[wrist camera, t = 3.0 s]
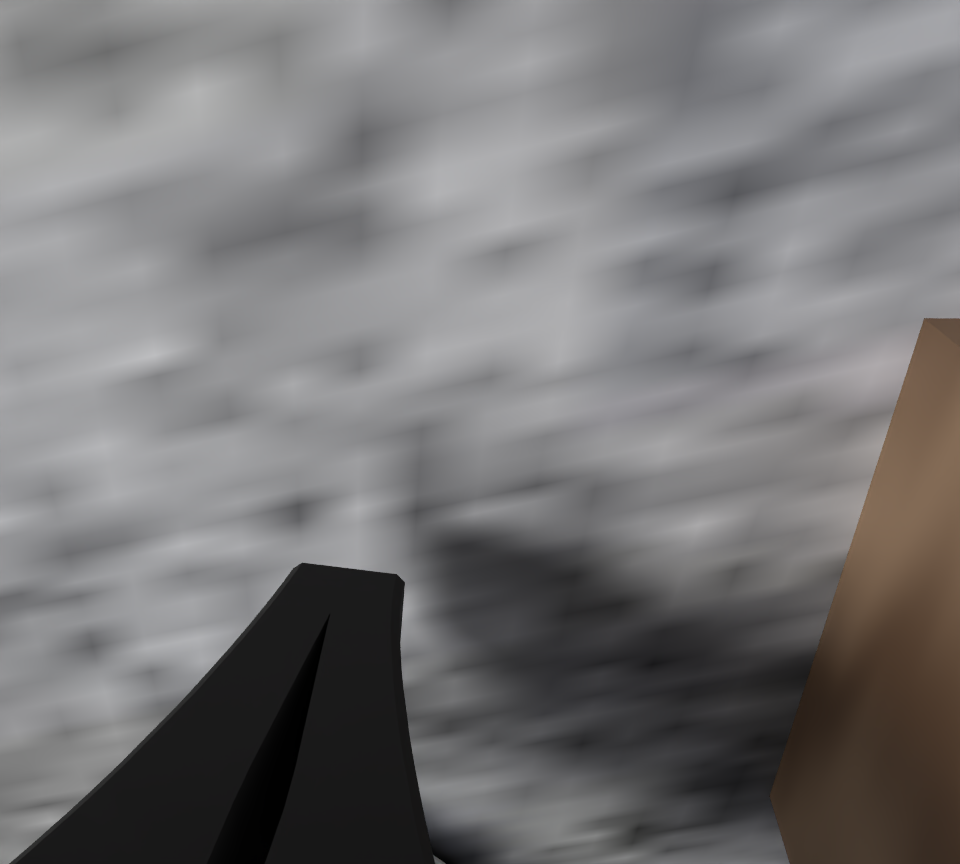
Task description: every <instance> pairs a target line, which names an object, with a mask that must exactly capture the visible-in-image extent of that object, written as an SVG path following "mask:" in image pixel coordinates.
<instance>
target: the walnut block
mask: <svg viewBox="0 0 960 864" xmlns="http://www.w3.org/2000/svg"><path fill="white" fill-rule="evenodd" d="M770 799H771V803H772V806H773V809H774V813H775V816H776V819H777V822H778V826H779V829H780V832H781V836H782V839H783V842H784V846H785V849H786V852H787V855H788V859H789V862H790V864H960V319H933V318H924V321H923V324H922V327H921V330H920V333H919V336H918V339H917V343H916V346H915V349H914V352H913V355H912V358H911V361H910V364H909V367H908V370H907V373H906V377H905V380H904V383H903V386H902V389H901V392H900V395H899V398H898V401H897V404H896V407H895V410H894V414H893V417H892V420H891V423H890V426H889V429H888V432H887V435H886V438H885V441H884V444H883V447H882V451H881V454H880V457H879V460H878V463H877V466H876V469H875V472H874V475H873V478H872V481H871V484H870V488H869V491H868V494H867V497H866V500H865V503H864V506H863V509H862V512H861V515H860V518H859V522H858V525H857V528H856V531H855V534H854V537H853V540H852V543H851V546H850V549H849V552H848V555H847V559H846V562H845V565H844V568H843V571H842V574H841V577H840V580H839V583H838V586H837V589H836V592H835V596H834V599H833V602H832V605H831V608H830V611H829V614H828V617H827V620H826V623H825V626H824V629H823V633H822V636H821V639H820V642H819V645H818V648H817V651H816V654H815V657H814V660H813V663H812V666H811V670H810V673H809V676H808V679H807V682H806V685H805V688H804V691H803V694H802V697H801V700H800V704H799V707H798V710H797V713H796V716H795V719H794V722H793V725H792V728H791V731H790V734H789V737H788V741H787V744H786V747H785V750H784V753H783V756H782V759H781V762H780V765H779V768H778V771H777V774H776V778H775V781H774V784H773V787H772V790H771V793H770Z"/></svg>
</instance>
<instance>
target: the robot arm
mask: <svg viewBox="0 0 960 864" xmlns="http://www.w3.org/2000/svg"><path fill="white" fill-rule="evenodd" d="M404 586H405V582H404V581H403V580H402V579H401V578H400V577H399V576H398V575H397V574H390V573H381V572H373V571H365V570H357V569H349V568H341V567H332V566H324V565H316V564H308V563H301V564H299V565H298V566H296V567H295V568H293V570H292V571H291V572H290V574H289V575H288V576H287V578H286V579H285V581H284V582H283V583H282V585H281V586H280V587H279V588H278V590H277V591H276V592H275V594H274V595H273V596H272V597H271V599H270V600H269V601H268V603H267V604H266V605H265V606H264V608H263V609H262V610H261V611H260V612H259V614H258V615H257V616H256V617H255V619H254V620H253V621H252V622H251V623H250V625H249V626H248V627H247V628H246V629H245V631H244V632H243V633H242V634H241V635H240V636H239V638H238V639H237V640H236V641H235V642H234V644H233V645H232V646H231V647H230V648H229V649H228V650H227V652H226V653H225V654H224V655H223V656H222V657H221V658H220V659H219V660H218V662H217V663H216V664H215V665H214V666H213V667H212V668H211V669H210V670H209V672H208V673H207V674H206V675H205V676H204V677H203V678H202V679H201V680H200V682H199V683H198V684H197V685H196V686H195V687H194V688H193V689H192V690H191V692H190V693H189V694H188V695H187V696H186V697H185V698H184V699H183V700H182V701H181V702H180V703H179V704H178V705H177V706H176V708H175V709H174V710H173V711H172V712H171V713H170V714H169V715H168V716H167V717H166V718H165V719H164V720H163V721H162V722H161V723H160V724H159V725H158V726H157V727H156V728H155V729H154V730H153V731H152V732H151V733H150V734H149V735H148V736H147V737H146V738H145V739H144V740H143V741H142V742H141V743H140V744H139V745H138V746H137V747H136V748H135V749H134V750H133V751H132V752H131V753H130V754H129V755H128V756H127V757H126V758H125V759H124V760H123V761H122V762H121V763H120V764H119V765H118V766H117V767H116V768H115V769H114V770H113V771H112V772H111V773H110V774H109V775H108V776H106V777H105V778H104V779H103V780H102V781H101V782H100V783H99V784H98V785H97V786H96V787H95V788H94V789H93V790H92V791H91V792H90V793H88V794H87V795H86V796H85V797H84V798H83V799H82V800H81V801H80V802H79V803H78V804H77V805H75V806H74V807H73V808H72V809H71V810H70V811H69V812H68V813H67V814H66V815H64V816H63V817H62V818H61V819H60V820H59V821H58V822H57V823H55V824H54V825H53V826H52V827H51V828H50V829H49V830H48V831H46V832H45V833H44V834H43V835H42V836H41V837H40V838H39V839H37V840H36V841H35V842H34V843H33V844H32V845H31V846H30V847H28V848H27V849H26V850H25V851H24V852H23V853H21V854H20V855H19V856H18V857H17V858H16V859H14V860H13V861H12V862H11V863H10V864H435V861H434V856H433V852H432V848H431V844H430V839H429V835H428V830H427V826H426V821H425V817H424V812H423V807H422V802H421V797H420V792H419V787H418V781H417V776H416V771H415V766H414V760H413V754H412V748H411V742H410V736H409V728H408V721H407V713H406V705H405V698H404V690H403V680H402V669H401V651H400V638H401V625H402V612H403V599H404Z"/></svg>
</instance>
